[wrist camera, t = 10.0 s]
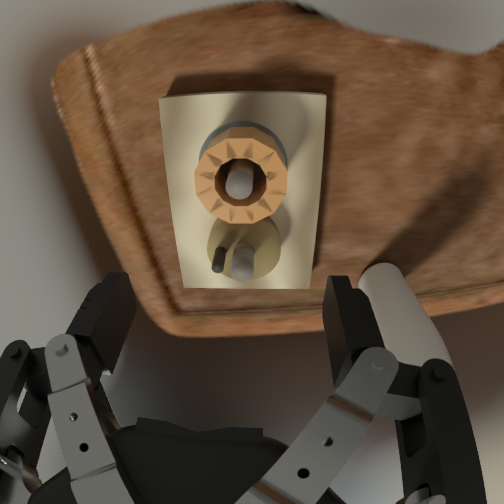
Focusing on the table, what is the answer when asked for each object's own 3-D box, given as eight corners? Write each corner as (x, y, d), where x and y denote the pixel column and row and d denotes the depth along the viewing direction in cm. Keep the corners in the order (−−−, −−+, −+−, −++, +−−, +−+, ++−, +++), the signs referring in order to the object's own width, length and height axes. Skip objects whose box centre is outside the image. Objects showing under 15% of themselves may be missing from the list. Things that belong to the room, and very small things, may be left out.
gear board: (321, 93, 23) (342, 103, 17) (307, 276, 34) (315, 323, 28) (165, 95, 23) (135, 107, 18) (187, 275, 34) (174, 321, 28)
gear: (284, 127, 23) (288, 138, 19) (281, 201, 26) (284, 223, 23) (201, 127, 23) (191, 139, 20) (206, 200, 27) (198, 223, 23)
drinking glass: (415, 274, 33) (466, 377, 21) (374, 308, 36) (407, 414, 24) (383, 243, 31) (438, 357, 19) (338, 283, 34) (368, 401, 22)
